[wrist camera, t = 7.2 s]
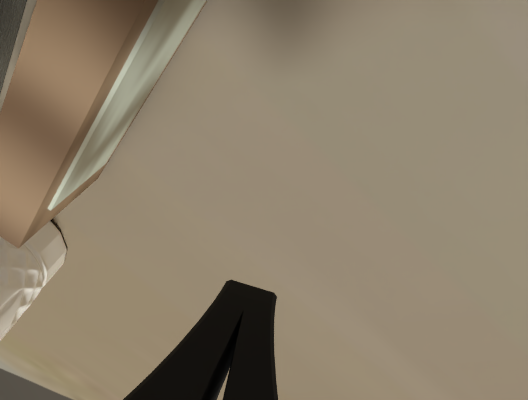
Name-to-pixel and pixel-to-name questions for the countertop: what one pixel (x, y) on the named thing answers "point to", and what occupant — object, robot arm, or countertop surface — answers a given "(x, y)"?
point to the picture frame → (78, 98)
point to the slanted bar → (8, 31)
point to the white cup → (27, 272)
